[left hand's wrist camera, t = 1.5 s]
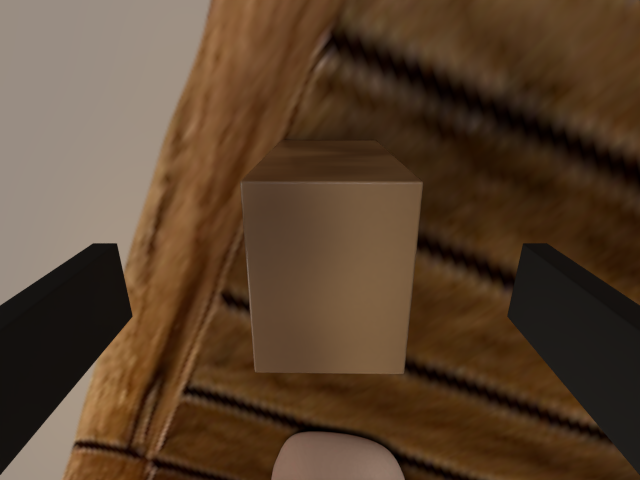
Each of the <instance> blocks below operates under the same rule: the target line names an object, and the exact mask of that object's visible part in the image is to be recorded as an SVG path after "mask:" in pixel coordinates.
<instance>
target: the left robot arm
mask: <svg viewBox="0 0 640 480" xmlns="http://www.w3.org/2000/svg"><path fill="white" fill-rule="evenodd" d="M132 317H133V316H132V311H131V307H130V302H129V297H128V293H127V288H126V283H125V279H124V274H123V270H122V265H121V260H120V256H119V251H118V246H117V244H116V243H94V244H92V245H90V246H89V247H87V248H86V249H84V250H83V251H81V252H80V253H78V254H77V255H75V256H74V257H72V258H71V259H69V260H68V261H66V262H65V263H63V264H62V265H60V266H59V267H57V268H56V269H54V270H53V271H51V272H50V273H48V274H47V275H45V276H44V277H42V278H41V279H39V280H38V281H36V282H35V283H33V284H32V285H30V286H29V287H27V288H26V289H24V290H23V291H21V292H20V293H18V294H17V295H15V296H14V297H12V298H11V299H9V300H8V301H6V302H5V303H3V304H2V305H0V475H1V474H2V472H3V471H4V470H5V469H6V468H7V466H8V465H9V464H10V463H11V461H12V460H13V459H14V458H15V457H16V455H17V454H18V453H19V452H20V451H21V450H22V448H23V447H24V446H25V445H26V444H27V442H28V441H29V440H30V439H31V437H32V436H33V435H34V434H35V433H36V432H37V430H38V429H39V428H40V427H41V425H42V424H43V423H44V422H45V421H46V420H47V418H48V417H49V416H50V415H51V414H52V412H53V411H54V410H55V409H56V408H57V406H58V405H59V404H60V403H61V402H62V400H63V399H64V398H65V397H66V396H67V394H68V393H69V392H70V391H71V390H72V388H73V387H74V386H75V385H76V384H77V382H78V381H79V380H80V379H81V378H82V376H83V375H84V374H85V373H86V372H87V370H88V369H89V368H90V367H91V366H92V364H93V363H94V362H95V361H96V360H97V358H98V357H99V356H100V355H101V354H102V352H103V351H104V350H105V349H106V348H107V346H108V345H109V344H110V343H111V342H112V340H113V339H114V338H115V337H116V336H117V334H118V333H119V332H120V331H121V330H122V329H123V327H124V326H125V325H126V324H127V323H128V321H129V320H130V319H131V318H132ZM507 317H508V318H509V319H510V320H511V321H512V323H513V324H514V325H515V326H516V327H517V329H518V330H519V331H520V332H521V333H522V335H523V336H524V337H525V338H526V339H527V340H528V342H529V343H530V344H531V345H532V346H533V348H534V349H535V350H536V351H537V352H538V354H539V355H540V356H541V357H542V358H543V360H544V361H545V362H546V363H547V364H548V366H549V367H550V368H551V369H552V370H553V372H554V373H555V374H556V375H557V376H558V378H559V379H560V380H561V381H562V382H563V384H564V385H565V386H566V387H567V388H568V390H569V391H570V392H571V393H572V394H573V396H574V397H575V398H576V399H577V400H578V402H579V403H580V404H581V405H582V406H583V408H584V409H585V410H586V411H587V412H588V414H589V415H590V416H591V417H592V418H593V420H594V421H595V422H596V423H597V424H598V426H599V427H600V428H601V429H602V430H603V432H604V433H605V434H606V435H607V436H608V438H609V439H610V440H611V441H612V442H613V444H614V445H615V446H616V447H617V448H618V450H619V451H620V452H621V453H622V454H623V456H624V457H625V458H626V459H627V460H628V462H629V463H630V464H631V465H632V466H633V468H634V469H635V470H636V471H637V472H638V474H639V475H640V305H638V304H637V303H635V302H634V301H632V300H631V299H629V298H628V297H626V296H625V295H623V294H622V293H620V292H619V291H617V290H616V289H614V288H613V287H611V286H610V285H608V284H607V283H605V282H604V281H602V280H601V279H599V278H598V277H596V276H595V275H593V274H592V273H590V272H589V271H587V270H586V269H584V268H583V267H581V266H580V265H578V264H577V263H575V262H574V261H572V260H571V259H569V258H568V257H566V256H565V255H563V254H562V253H560V252H559V251H557V250H556V249H554V248H553V247H551V246H550V245H548V244H547V243H523V246H522V251H521V256H520V260H519V265H518V270H517V274H516V279H515V283H514V288H513V293H512V297H511V302H510V307H509V311H508V316H507Z"/></svg>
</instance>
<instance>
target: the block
mask: <svg viewBox="0 0 640 480" xmlns="http://www.w3.org/2000/svg"><path fill="white" fill-rule="evenodd" d="M240 186H241V199H242V212H243V225H244V238H245V251H246V264H247V277H248V290H249V303H250V316H251V329H252V342H253V354H254V367H255V372H268V373H368V374H403V373H404V368H405V358H406V349H407V339H408V329H409V319H410V309H411V299H412V289H413V279H414V269H415V259H416V249H417V239H418V229H419V220H420V210H421V200H422V190H423V182H422V181H421V180H420V179H419V178H418V177H417V176H415V175H414V174H413V173H412V172H411V171H410V170H409V169H408V168H406V167H405V166H404V165H403V164H402V163H401V162H400V161H399V160H397V159H396V158H395V157H394V156H393V155H392V154H391V153H389V152H388V151H387V150H386V149H385V148H384V147H383V146H382V145H380V144H379V143H378V142H377V141H376V140H281V141H280V142H279V143H278V144H277V145H276V146H275V147H274V148H273V149H272V150H271V151H270V152H269V153H268V154H267V155H266V156H265V157H264V158H263V159H262V160H261V161H260V162H259V163H258V164H257V165H256V166H255V167H254V168H253V169H252V170H251V171H250V172H249V173H248V174H247V175H246V176H245V177H244V178H243V179H242V180H241V182H240Z"/></svg>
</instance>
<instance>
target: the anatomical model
mask: <svg viewBox="0 0 640 480" xmlns="http://www.w3.org/2000/svg"><path fill="white" fill-rule="evenodd" d="M272 480H405V479H404V476H403V473H402V471H401V468H400V466H399V464H398V463H397V461H396V459H395V458H394V456H393V455H392V454H391V453H390V451H388V450H387V449H386V448H385V447H383V446H382V445H380V444H378V443H376V442H374V441H371V440H369V439H365V438H362V437H358V436H353V435H348V434H341V433H333V432H315V431H308V432H301V433H297V434H295V435H293V436H291V437H290V438H289V439H288V440H287V441H286V442H285V443H284V445H283V447H282V448H281V451H280V453H279V455H278V458H277V460H276V462H275V465H274V468H273V474H272Z"/></svg>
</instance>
